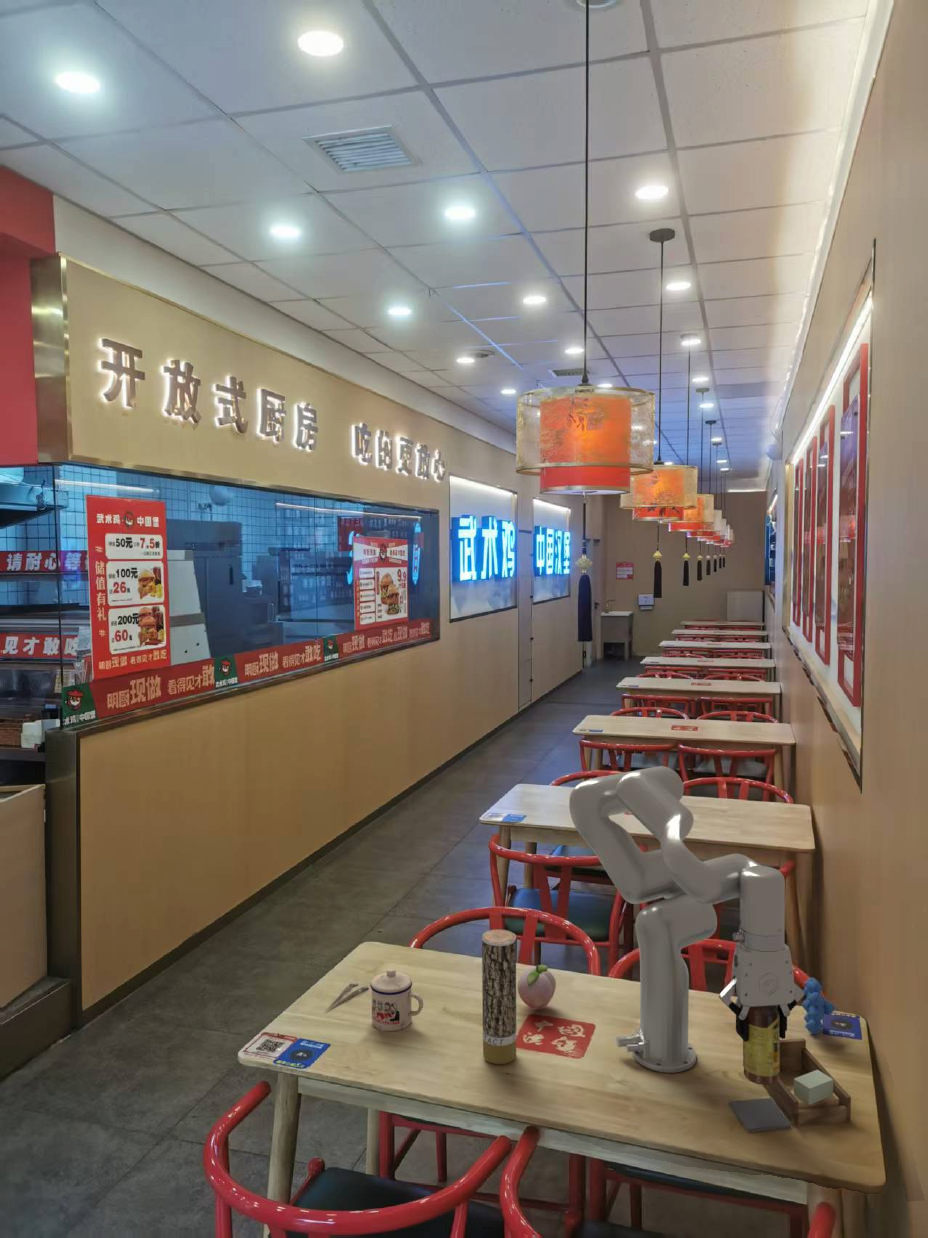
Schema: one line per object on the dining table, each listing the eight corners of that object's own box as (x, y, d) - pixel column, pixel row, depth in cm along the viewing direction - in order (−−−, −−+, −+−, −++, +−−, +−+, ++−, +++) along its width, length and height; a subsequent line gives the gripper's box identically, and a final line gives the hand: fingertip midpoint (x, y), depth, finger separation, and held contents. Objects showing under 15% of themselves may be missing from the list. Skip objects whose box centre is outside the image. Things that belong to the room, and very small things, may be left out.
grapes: (839, 1050, 180) (840, 993, 180) (804, 1046, 182) (805, 989, 181) (830, 1022, 192) (831, 968, 191) (797, 1018, 193) (798, 964, 192)
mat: (747, 1132, 155) (747, 1128, 155) (729, 1104, 163) (729, 1101, 163) (791, 1128, 156) (791, 1125, 156) (770, 1101, 164) (770, 1098, 164)
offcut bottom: (797, 1122, 158) (797, 1103, 158) (787, 1110, 161) (787, 1091, 161) (838, 1117, 159) (839, 1098, 159) (828, 1106, 163) (828, 1087, 162)
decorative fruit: (524, 996, 204) (524, 954, 203) (559, 1002, 201) (559, 959, 200) (512, 1015, 195) (511, 971, 195) (547, 1022, 192) (547, 977, 192)
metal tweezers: (353, 985, 211) (353, 977, 211) (370, 990, 209) (369, 982, 209) (307, 1024, 196) (307, 1015, 196) (324, 1029, 194) (324, 1020, 194)
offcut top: (809, 1105, 157) (809, 1088, 157) (793, 1094, 160) (793, 1078, 160) (833, 1095, 160) (833, 1079, 160) (817, 1085, 163) (817, 1069, 163)
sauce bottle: (781, 1089, 155) (782, 978, 154) (744, 1085, 156) (745, 975, 155) (776, 1068, 161) (777, 962, 160) (740, 1065, 162) (741, 959, 161)
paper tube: (498, 1043, 184) (498, 926, 182) (523, 1056, 179) (522, 936, 178) (475, 1056, 179) (475, 936, 178) (500, 1070, 174) (499, 946, 173)
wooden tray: (793, 1126, 156) (794, 1093, 156) (751, 1071, 173) (752, 1042, 173) (850, 1121, 157) (851, 1089, 157) (803, 1067, 174) (803, 1038, 174)
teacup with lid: (363, 1028, 191) (362, 975, 190) (382, 1008, 199) (381, 957, 198) (414, 1038, 186) (413, 984, 186) (431, 1017, 195) (430, 966, 194)
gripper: (723, 949, 152) (723, 1051, 153) (818, 944, 154) (817, 1044, 155) (707, 932, 160) (706, 1028, 161) (797, 926, 162) (797, 1022, 163)
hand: (761, 1035), depth 158 cm, fingers closed on sauce bottle, 6 cm apart
